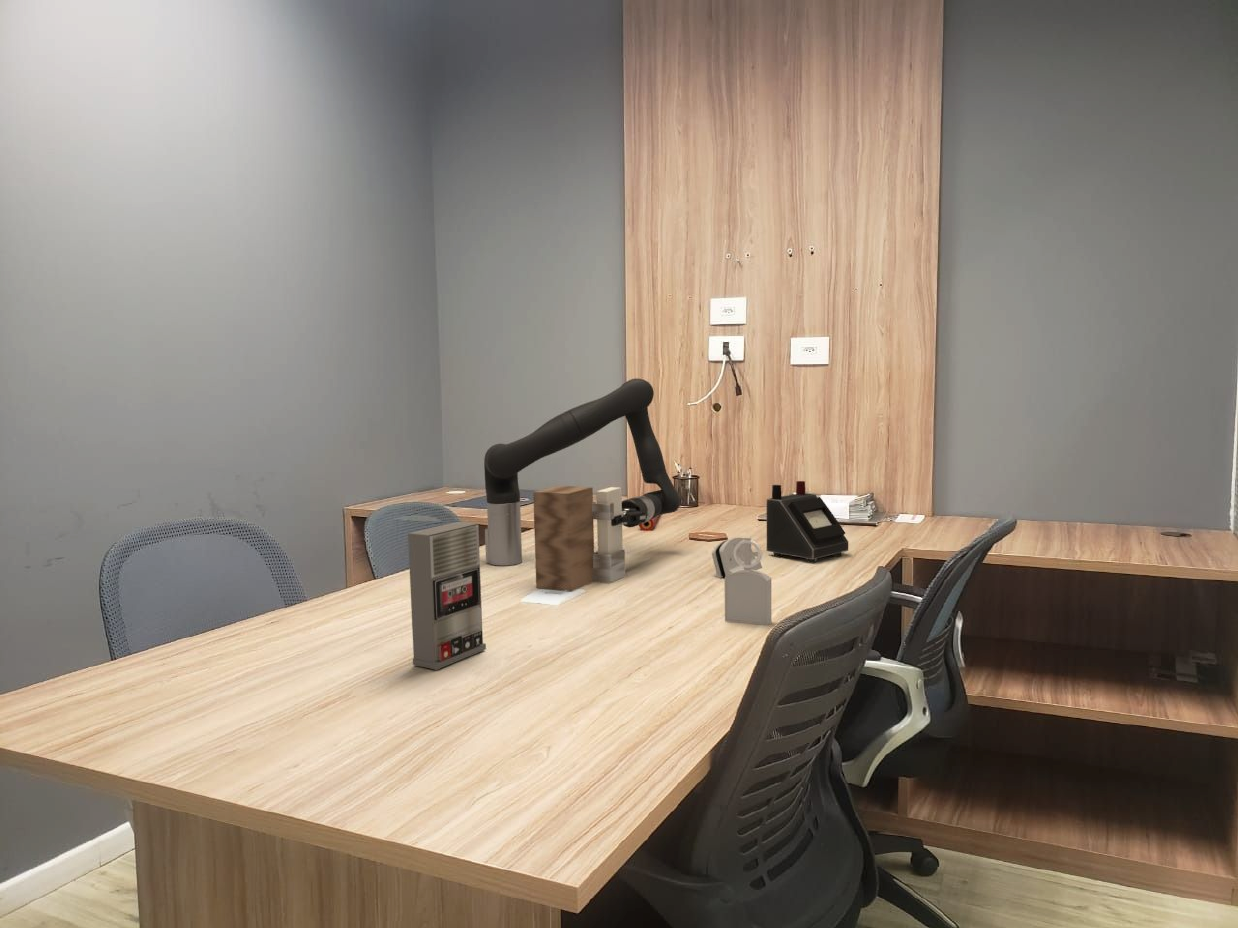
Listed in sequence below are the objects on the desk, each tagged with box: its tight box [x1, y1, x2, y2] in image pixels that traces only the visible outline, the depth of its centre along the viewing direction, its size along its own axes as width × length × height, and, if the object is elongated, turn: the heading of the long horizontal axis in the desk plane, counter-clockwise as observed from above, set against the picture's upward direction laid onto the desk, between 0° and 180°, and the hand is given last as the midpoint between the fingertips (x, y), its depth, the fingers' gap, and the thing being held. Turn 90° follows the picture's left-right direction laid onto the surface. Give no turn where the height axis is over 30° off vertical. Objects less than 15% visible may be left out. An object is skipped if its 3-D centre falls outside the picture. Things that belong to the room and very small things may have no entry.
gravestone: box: [724, 536, 772, 626], centre depth 197 cm, size 3×9×18 cm, turn 65°
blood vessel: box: [638, 515, 660, 532], centre depth 328 cm, size 42×5×5 cm, turn 173°
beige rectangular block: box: [595, 486, 624, 555], centre depth 240 cm, size 3×8×18 cm, turn 153°
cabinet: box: [532, 485, 626, 592], centre depth 236 cm, size 15×20×24 cm
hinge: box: [711, 537, 763, 579], centre depth 244 cm, size 17×5×10 cm, turn 147°
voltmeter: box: [765, 480, 849, 564], centre depth 262 cm, size 16×16×20 cm
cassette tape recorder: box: [407, 521, 487, 671], centre depth 176 cm, size 14×6×25 cm, turn 148°
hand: (606, 521), depth 238 cm, fingers closed on beige rectangular block, 3 cm apart
